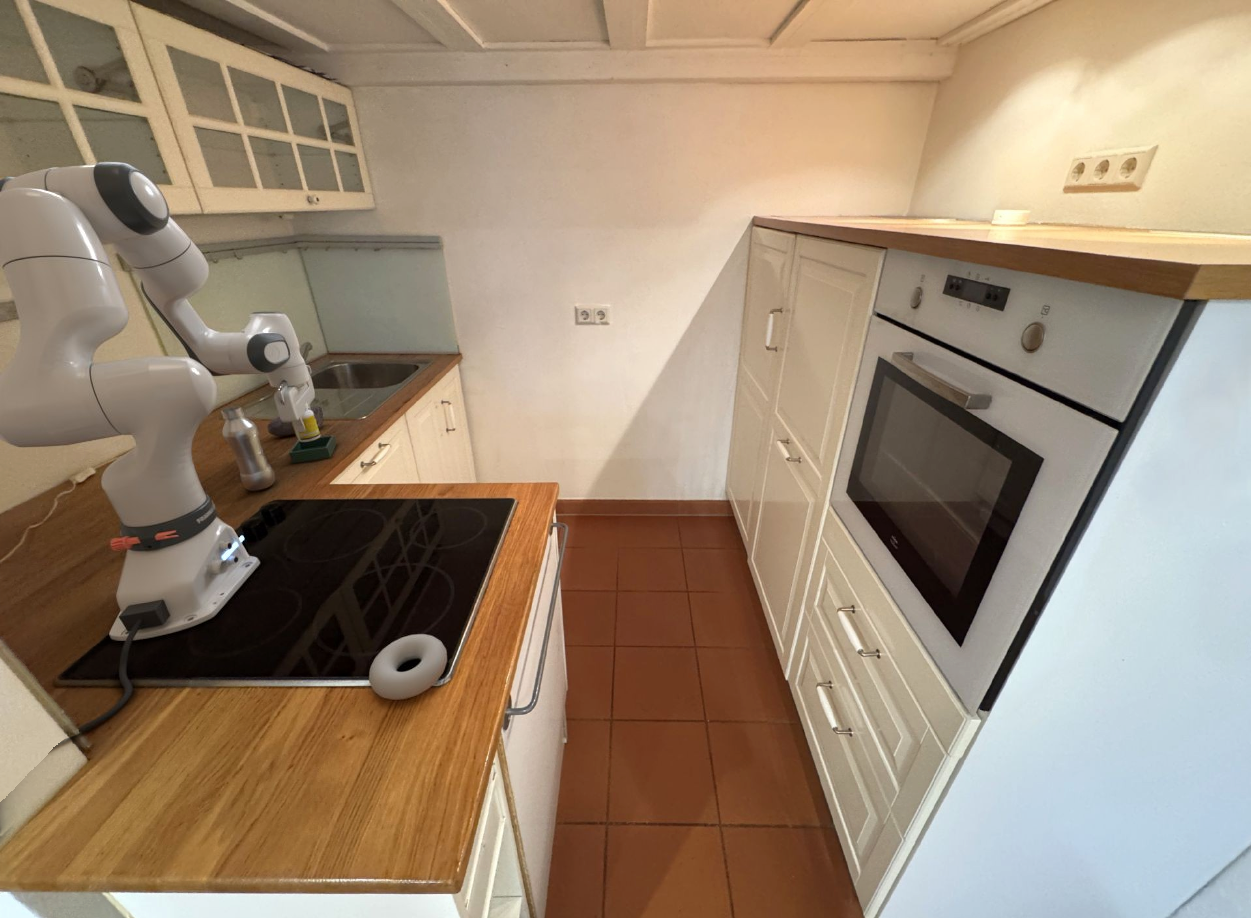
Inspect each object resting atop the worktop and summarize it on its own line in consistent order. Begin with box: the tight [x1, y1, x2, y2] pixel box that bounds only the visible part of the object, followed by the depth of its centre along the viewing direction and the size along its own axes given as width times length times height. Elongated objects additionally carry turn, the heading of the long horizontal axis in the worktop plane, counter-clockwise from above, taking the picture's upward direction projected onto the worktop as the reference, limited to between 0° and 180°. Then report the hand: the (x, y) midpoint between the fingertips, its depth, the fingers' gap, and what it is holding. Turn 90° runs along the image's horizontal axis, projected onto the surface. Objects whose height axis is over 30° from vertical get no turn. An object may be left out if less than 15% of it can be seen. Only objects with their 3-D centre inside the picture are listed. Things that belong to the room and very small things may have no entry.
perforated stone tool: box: [267, 405, 324, 437], centre depth 149 cm, size 15×5×7 cm, turn 127°
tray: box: [288, 434, 337, 464], centre depth 136 cm, size 9×9×3 cm
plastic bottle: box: [220, 405, 276, 492], centre depth 116 cm, size 6×7×20 cm
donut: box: [368, 633, 448, 701], centre depth 68 cm, size 10×3×10 cm
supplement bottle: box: [292, 403, 321, 442], centre depth 132 cm, size 5×5×10 cm
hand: (305, 426), depth 133 cm, fingers closed on supplement bottle, 5 cm apart
